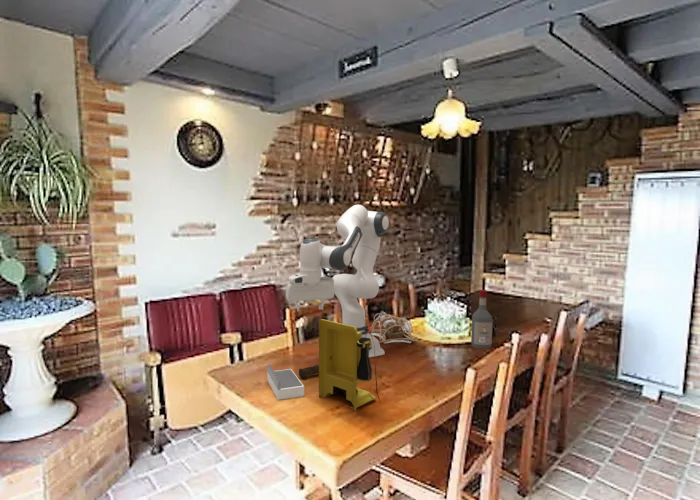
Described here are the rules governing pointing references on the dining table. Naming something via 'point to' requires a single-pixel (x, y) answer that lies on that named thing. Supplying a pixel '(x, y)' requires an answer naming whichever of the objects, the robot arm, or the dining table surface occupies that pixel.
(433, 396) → the dining table surface
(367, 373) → the vintage telephone
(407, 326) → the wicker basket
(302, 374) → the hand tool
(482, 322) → the liquor
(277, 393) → the grey open box
